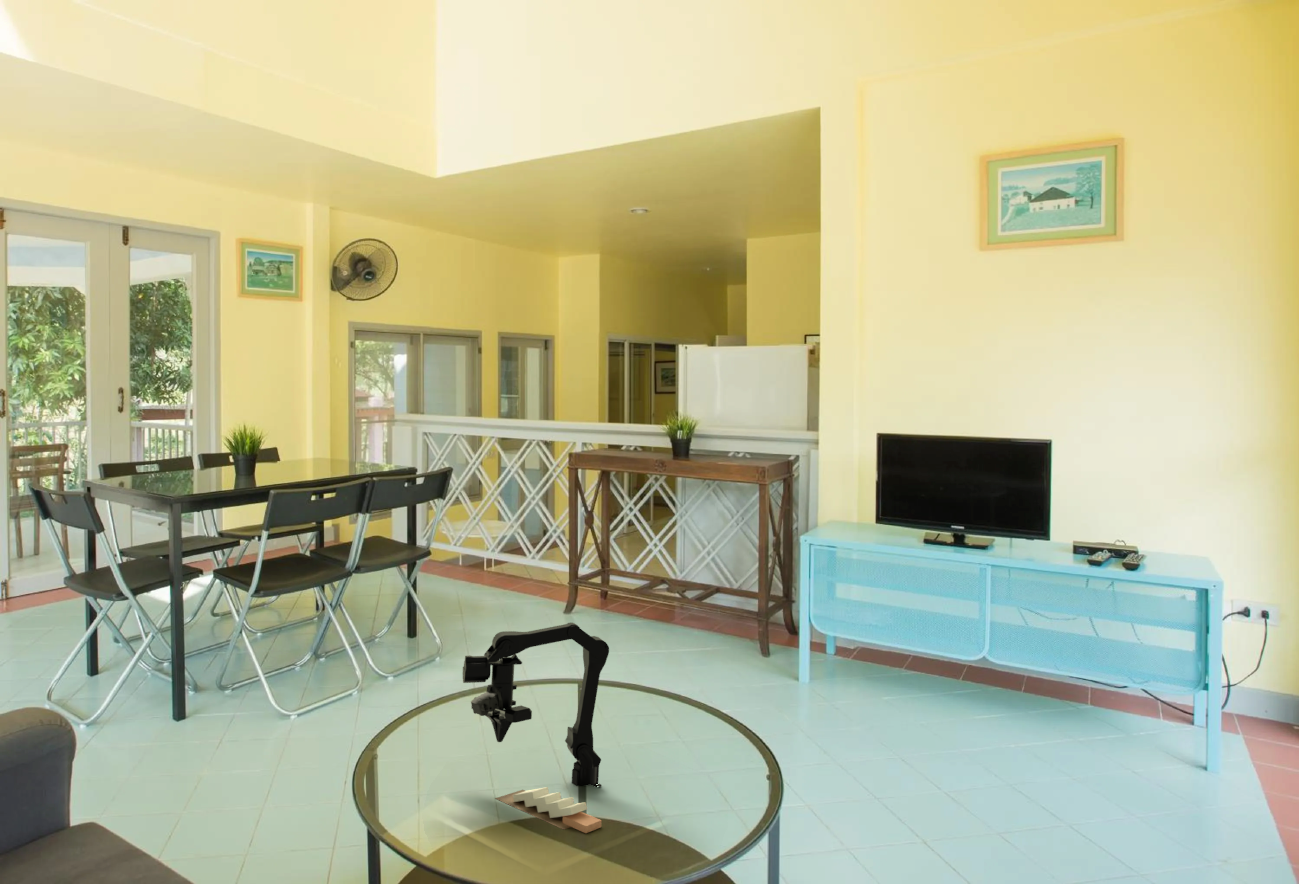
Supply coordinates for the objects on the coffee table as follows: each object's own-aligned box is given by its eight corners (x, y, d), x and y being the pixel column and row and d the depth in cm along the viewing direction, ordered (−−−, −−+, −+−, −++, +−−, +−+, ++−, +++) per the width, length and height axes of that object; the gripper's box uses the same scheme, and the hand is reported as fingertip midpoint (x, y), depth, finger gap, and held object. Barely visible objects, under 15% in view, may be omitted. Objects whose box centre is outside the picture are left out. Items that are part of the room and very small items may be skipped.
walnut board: (494, 802, 204) (494, 798, 205) (522, 793, 211) (522, 789, 211) (563, 833, 187) (563, 829, 187) (591, 823, 194) (591, 818, 194)
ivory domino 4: (548, 810, 194) (570, 807, 189) (564, 805, 198) (585, 801, 193) (549, 817, 193) (571, 814, 189) (565, 812, 197) (587, 809, 192)
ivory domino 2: (524, 800, 200) (544, 796, 195) (539, 795, 204) (560, 791, 199) (525, 807, 200) (545, 804, 195) (541, 801, 203) (561, 798, 198)
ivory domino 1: (512, 795, 203) (532, 791, 198) (528, 790, 207) (547, 786, 202) (513, 801, 203) (533, 798, 198) (529, 796, 206) (549, 793, 201)
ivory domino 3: (536, 805, 197) (557, 802, 192) (552, 800, 201) (573, 796, 196) (537, 812, 196) (558, 809, 192) (553, 807, 200) (574, 803, 195)
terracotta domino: (562, 815, 191) (586, 826, 186) (578, 810, 195) (601, 820, 189) (562, 822, 191) (585, 833, 186) (577, 817, 195) (601, 827, 189)
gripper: (456, 679, 213) (453, 739, 212) (499, 692, 201) (496, 756, 200) (490, 673, 222) (487, 731, 221) (534, 686, 209) (531, 747, 208)
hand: (499, 741), depth 212 cm, fingers closed
